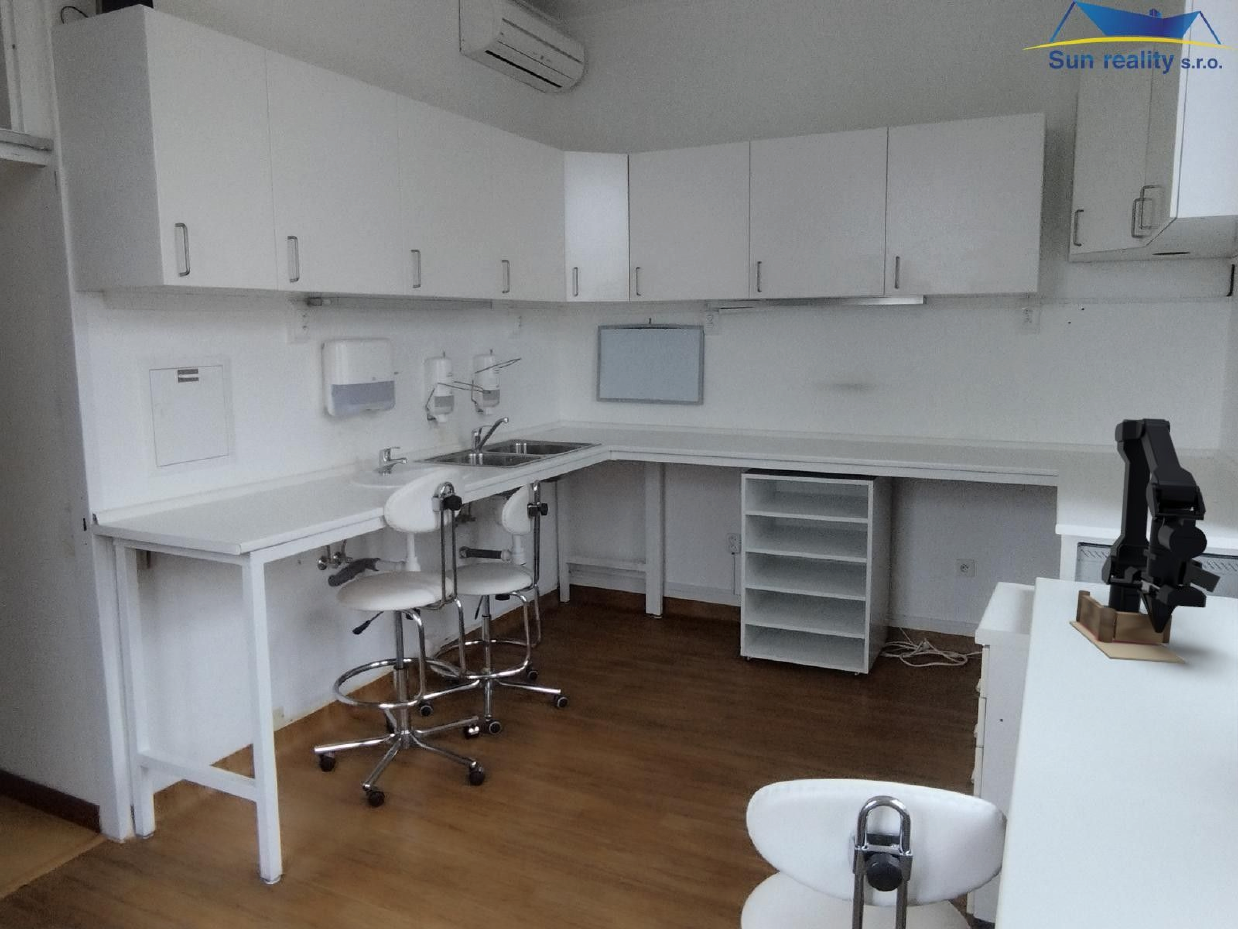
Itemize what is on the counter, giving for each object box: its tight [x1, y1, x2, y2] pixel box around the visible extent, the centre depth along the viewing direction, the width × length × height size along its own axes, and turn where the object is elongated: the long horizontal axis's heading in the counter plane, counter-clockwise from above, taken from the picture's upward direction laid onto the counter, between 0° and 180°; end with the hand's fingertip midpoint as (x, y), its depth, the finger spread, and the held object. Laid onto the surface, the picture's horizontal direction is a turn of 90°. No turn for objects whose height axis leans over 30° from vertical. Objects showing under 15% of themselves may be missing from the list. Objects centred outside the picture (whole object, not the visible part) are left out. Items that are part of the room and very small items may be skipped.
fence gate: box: [1113, 612, 1173, 645], centre depth 168 cm, size 9×2×5 cm, turn 80°
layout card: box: [1069, 621, 1187, 664], centre depth 170 cm, size 20×12×1 cm, turn 173°
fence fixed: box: [1075, 589, 1116, 643], centre depth 174 cm, size 14×2×6 cm, turn 173°
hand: (1158, 632), depth 165 cm, fingers closed
